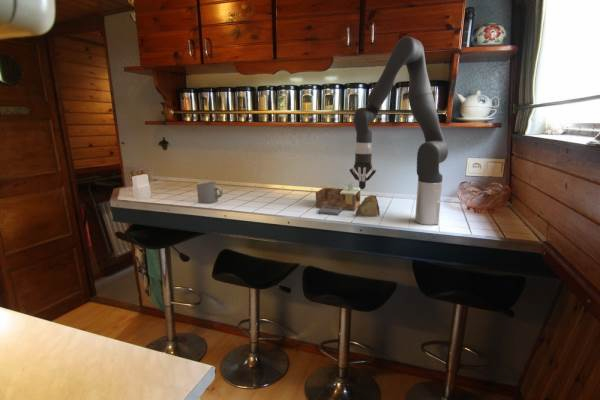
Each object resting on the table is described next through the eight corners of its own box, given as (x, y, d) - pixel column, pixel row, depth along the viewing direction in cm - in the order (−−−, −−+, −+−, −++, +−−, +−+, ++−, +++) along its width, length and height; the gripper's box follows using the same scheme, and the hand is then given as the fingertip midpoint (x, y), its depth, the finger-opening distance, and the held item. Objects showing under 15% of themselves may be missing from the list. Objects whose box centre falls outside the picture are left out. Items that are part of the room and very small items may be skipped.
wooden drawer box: (360, 204, 171) (360, 190, 170) (354, 211, 160) (355, 195, 158) (323, 201, 178) (323, 187, 177) (315, 207, 167) (315, 192, 165)
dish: (342, 210, 162) (342, 207, 161) (337, 215, 153) (337, 212, 153) (324, 208, 165) (324, 205, 165) (318, 213, 157) (318, 210, 156)
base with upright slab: (142, 194, 199) (139, 173, 197) (154, 195, 196) (152, 174, 193) (130, 197, 191) (127, 176, 188) (142, 198, 188) (140, 177, 185)
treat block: (355, 202, 168) (355, 192, 167) (353, 204, 164) (353, 194, 163) (347, 201, 169) (347, 192, 168) (345, 203, 166) (345, 193, 164)
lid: (360, 189, 170) (360, 181, 169) (354, 194, 158) (355, 186, 158) (346, 188, 172) (346, 181, 171) (340, 193, 161) (340, 185, 160)
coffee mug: (194, 202, 179) (192, 183, 177) (207, 198, 188) (205, 180, 185) (214, 205, 173) (212, 185, 171) (226, 200, 182) (225, 182, 180)
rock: (351, 212, 150) (373, 212, 145) (353, 195, 153) (375, 194, 148) (359, 221, 158) (380, 221, 153) (361, 204, 161) (382, 204, 156)
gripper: (379, 151, 160) (377, 188, 164) (351, 151, 165) (350, 186, 169) (376, 153, 153) (374, 191, 157) (347, 152, 158) (346, 189, 162)
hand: (362, 188), depth 163 cm, fingers closed
